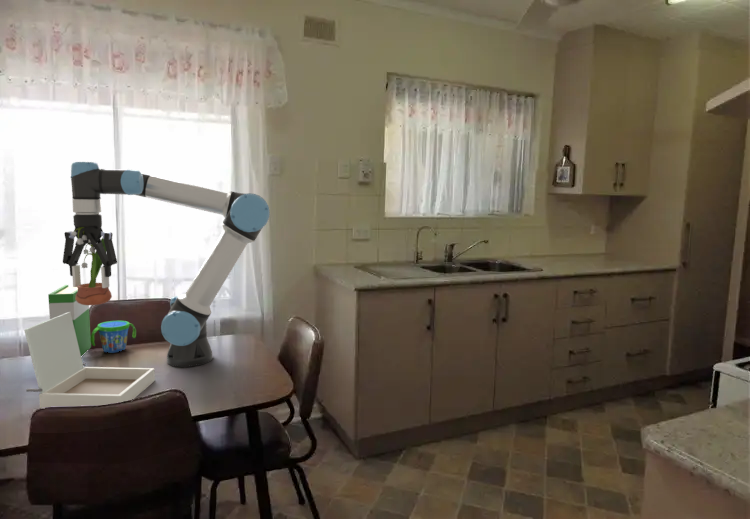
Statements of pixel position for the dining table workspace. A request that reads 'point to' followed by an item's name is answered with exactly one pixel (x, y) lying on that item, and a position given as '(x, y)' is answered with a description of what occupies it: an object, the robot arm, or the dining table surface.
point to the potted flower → (92, 278)
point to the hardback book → (72, 314)
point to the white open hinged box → (77, 369)
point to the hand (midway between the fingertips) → (91, 286)
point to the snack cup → (113, 335)
